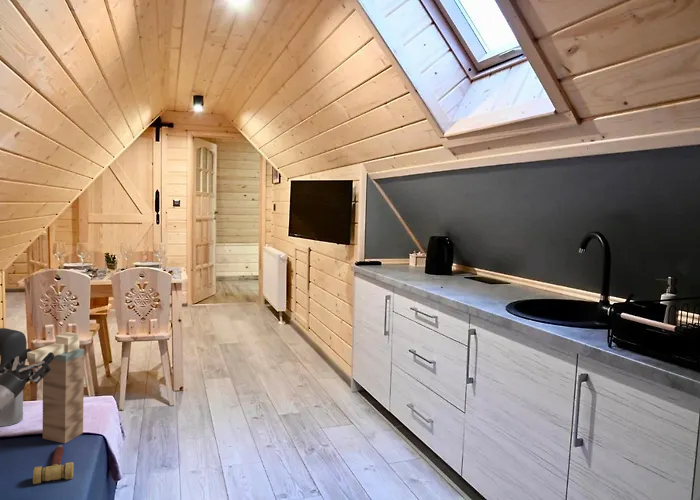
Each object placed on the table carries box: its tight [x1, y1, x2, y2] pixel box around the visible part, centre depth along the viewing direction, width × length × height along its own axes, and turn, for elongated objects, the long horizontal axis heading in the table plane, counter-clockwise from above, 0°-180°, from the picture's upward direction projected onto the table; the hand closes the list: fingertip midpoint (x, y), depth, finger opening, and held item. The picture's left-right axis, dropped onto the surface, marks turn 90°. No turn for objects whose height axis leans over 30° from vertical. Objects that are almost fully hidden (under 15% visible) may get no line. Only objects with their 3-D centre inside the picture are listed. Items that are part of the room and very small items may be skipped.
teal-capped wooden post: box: [42, 347, 85, 444], centre depth 173 cm, size 8×9×30 cm
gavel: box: [32, 445, 75, 485], centre depth 157 cm, size 21×5×10 cm
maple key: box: [26, 331, 80, 364], centre depth 166 cm, size 17×5×5 cm, turn 166°
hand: (41, 352), depth 162 cm, fingers open, 8 cm apart
